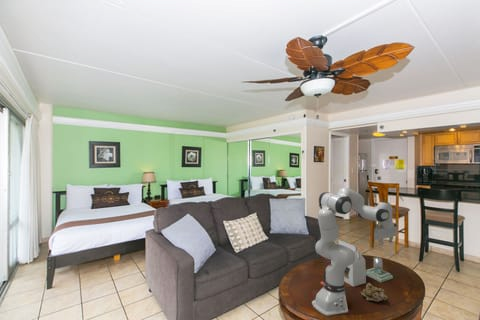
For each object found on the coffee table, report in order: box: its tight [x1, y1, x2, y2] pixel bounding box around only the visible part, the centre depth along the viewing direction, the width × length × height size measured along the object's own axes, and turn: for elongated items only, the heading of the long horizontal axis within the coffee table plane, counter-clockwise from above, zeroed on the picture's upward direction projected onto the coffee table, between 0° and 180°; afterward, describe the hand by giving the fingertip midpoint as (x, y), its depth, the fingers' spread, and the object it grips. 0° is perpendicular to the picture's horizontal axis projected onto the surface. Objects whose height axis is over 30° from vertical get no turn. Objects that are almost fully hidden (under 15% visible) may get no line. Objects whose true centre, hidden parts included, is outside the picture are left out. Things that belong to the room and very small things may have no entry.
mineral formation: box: [360, 282, 388, 302], centre depth 146 cm, size 8×13×15 cm
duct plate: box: [366, 267, 394, 283], centre depth 176 cm, size 14×14×4 cm
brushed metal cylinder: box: [373, 256, 384, 276], centre depth 176 cm, size 6×6×12 cm
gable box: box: [330, 239, 367, 288], centre depth 174 cm, size 22×13×28 cm, turn 22°
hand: (385, 243), depth 157 cm, fingers open, 8 cm apart
